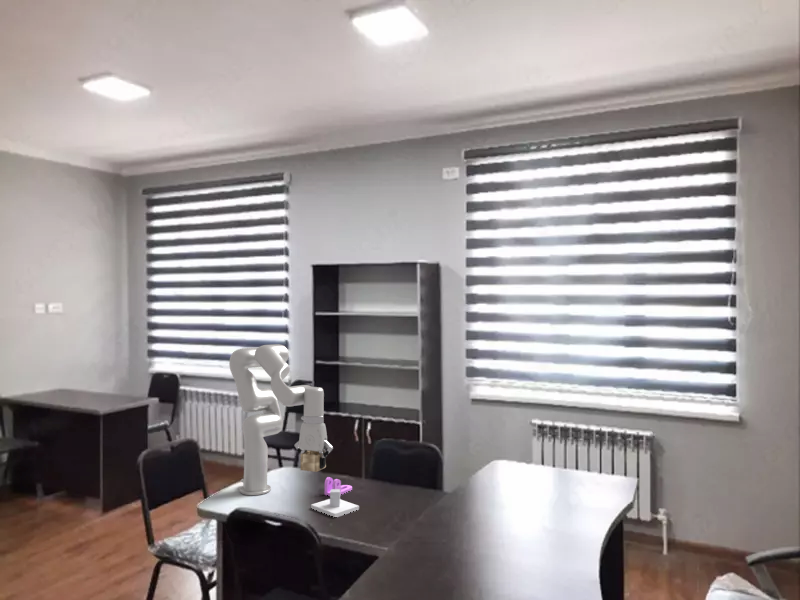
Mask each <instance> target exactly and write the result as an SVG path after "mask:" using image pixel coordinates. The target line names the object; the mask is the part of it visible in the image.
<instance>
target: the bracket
mask: <svg viewBox="0 0 800 600" xmlns="http://www.w3.org/2000/svg"><path fill="white" fill-rule="evenodd" d="M331 489H340V496H342V495H345V494H347V493H349V492H348V491H350V492H352V491H353V486H352V485H350V484H349V485H348V484H342V480H340V479H338V478H335V479H333V477H330V476H327V477H326V478H325V480H324V492H323V493H324V494H323V495H324V496H327V495H328V496H327V497H330V491H331ZM351 490H352V491H351ZM346 492H347V493H346ZM344 493H345V494H344ZM341 494H342V495H341Z"/></svg>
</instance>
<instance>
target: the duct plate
mask: <svg viewBox="0 0 800 600" xmlns="http://www.w3.org/2000/svg"><path fill="white" fill-rule="evenodd" d="M311 508H312V509H311ZM310 509H311V510H313V509H314V510H313V511H316V510H317V511H316V512H319V513H321V512H322V513H321V514H324V513H325V514H324V515H326V514H327V515H326V516H329V515H330V517H331V516H333V517H332V518H334V517H337V518H339V517H342V516H345V515H348V514H350V512H351V513H354V512H357V511H359V510H360V505H358V504H354V503H352V502H348V501H347V500H343V499H341V495H340V489H331V491H330V496H329V498H328V499H325V500H322V501H319V502H315V503H312V504H310ZM356 510H357V511H356ZM353 511H354V512H353ZM344 514H345V515H344Z"/></svg>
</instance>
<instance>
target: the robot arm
mask: <svg viewBox="0 0 800 600" xmlns="http://www.w3.org/2000/svg"><path fill="white" fill-rule="evenodd" d="M289 356H290V355H289V351H288V349H287V347H286V346H285V345H283V344H281V343H280V344H279V343H277V344H275V343H274V344H264V345H262V344H261V346H258V347H243V348H238V349H236V350H234V351H232V353H231V354H230V358H229V361H228V362H229V365H228V366H229V369H230V373H231V375H232V378H233V380H234V383H235V387H236V390H237V396H238V399H239V403H240V406H241V409H242V411H243V412H245V413H251V414H252V413H257V414H253V415H249V416H247V417H246V418H245V419H244V420H243V422H242V426H241V427H242V434H243V444H244V445H243V446H244V448H243V449H244V450H243V451H244V453H243V456H244V457H243V459H244V460H243V463H244V464H243V478H241V479H240V482H241V483H242V486H241V487H239V493H241V494H242V495H244V496H261V495H265V494H267V493H269V492H271V490H272V488H271V485H269V484H268V461H269V460H268V459H269V457H268V454H269V449H268V448H269V447H268V445H267V442H266V441H265V439H264V437H269V436H274V435H277V434H279V433H280V432H281V431H282V430H283V427H284V424H283V416H282V412H281V408H280V405H279V403H281V404H282V405H283V406H285V407H294V406H295V407H296V406H302V405H303V415H302V416H301V417H300V420H303V422H302V423H301V426H300V430H299V440H298V441H296V443H295V444H294V447H295V449H296V450H297V452H298V453H299V456H300V457H301V454H302V453H304V452H307V451H317V452H319V453H320V456H321V458H320V469H321V470H323V469H325V468H326V467H325V465H326V466H327V463H326V461H327V457H328V455H329V454H330V453H331V452H332V451H333V449H334V447H333V445H332V444H331V443H330V442H329V441H328V435H327V434H328V433H327V427H326V423H324V422H325V421H324V420H325V419H324V418H325V417H324V415H325V414H324V408H325V407H324V405H325V404H324V402H325V399H324V397H325V393H324V389H323V387H319V386H318V387H317V386H311V385H308V384H301V385H293V386H288V385H287V384H286V383H285V382H284V380H285V378H286V377H288V375H289V373H290V369H291V367H290V366H289V364H288V363H287V362H288V360H289ZM250 368H262V369H263V370H264V371H265V373H266V374H267V375H268V376H269V377H270V378H271V379H270V388H268V387H267V388H265V387H264V388H259V386H258V382H257V378H256V377H255V375H254V374H253V373H252V372H251V371H250V370H249V369H250ZM258 412H263V413H258ZM324 467H325V468H324ZM322 468H323V469H322Z"/></svg>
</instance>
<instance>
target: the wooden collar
mask: <svg viewBox="0 0 800 600" xmlns="http://www.w3.org/2000/svg"><path fill="white" fill-rule="evenodd" d="M320 458H321V456H320V453H319V452H317V451H307V452H304V453H302V454H301V456H300V471H305V472H306V471H307V472H314V473H315V472H316V473H317V472H319V471H321V470H323V469H325V468H326V467H327V464H326V465H325V467H324V468H322V469H320Z"/></svg>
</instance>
